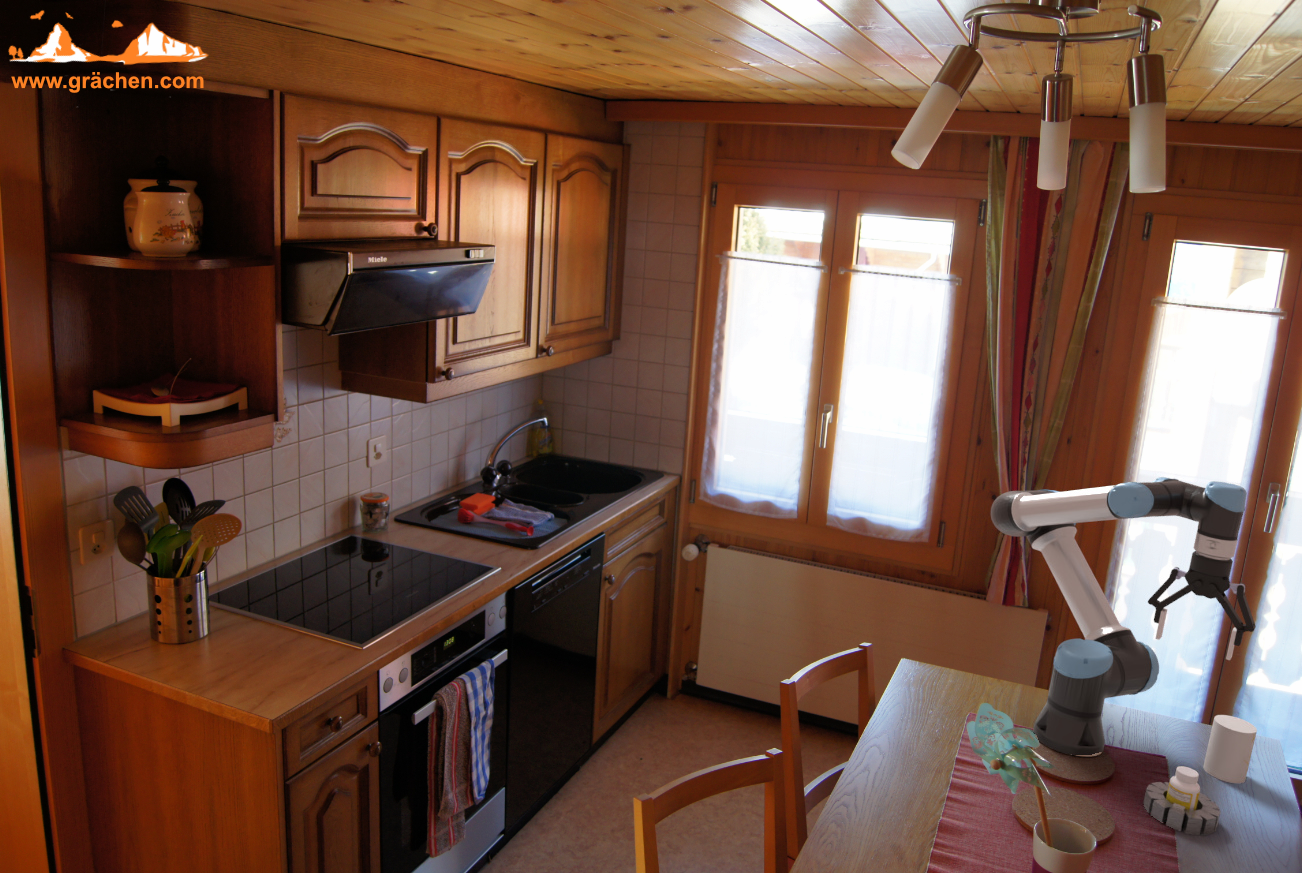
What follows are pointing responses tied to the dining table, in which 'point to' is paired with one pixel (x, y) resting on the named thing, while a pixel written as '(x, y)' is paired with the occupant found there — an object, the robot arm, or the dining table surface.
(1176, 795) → the supplement bottle
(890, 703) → the dining table surface
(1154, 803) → the grey segmented ring
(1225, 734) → the white cylinder
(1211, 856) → the dining table surface
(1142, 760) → the dining table surface
